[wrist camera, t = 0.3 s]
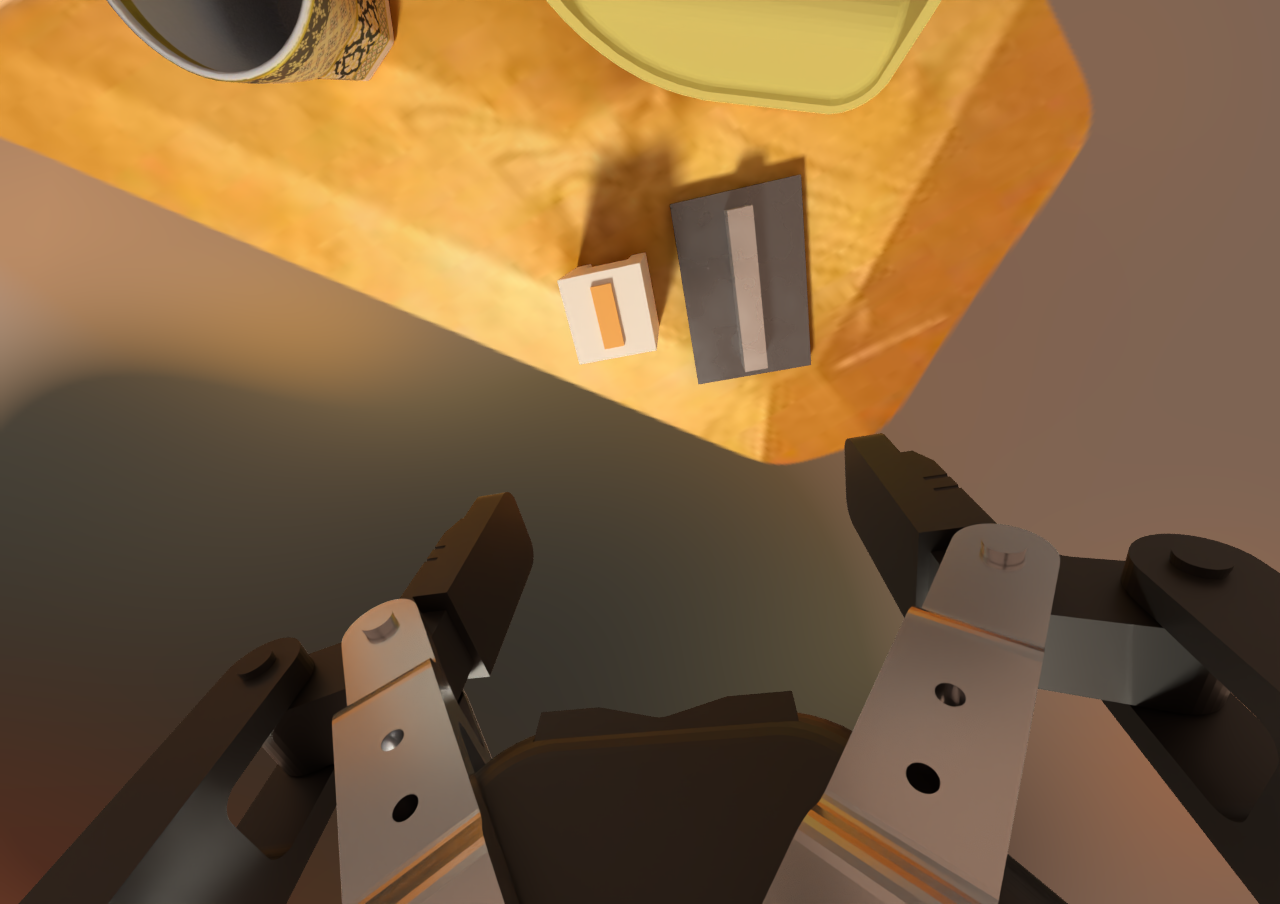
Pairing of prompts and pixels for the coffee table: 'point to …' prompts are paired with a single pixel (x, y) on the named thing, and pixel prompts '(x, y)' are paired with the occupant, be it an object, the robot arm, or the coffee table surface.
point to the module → (611, 309)
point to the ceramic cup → (265, 37)
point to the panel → (745, 279)
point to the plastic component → (756, 46)
